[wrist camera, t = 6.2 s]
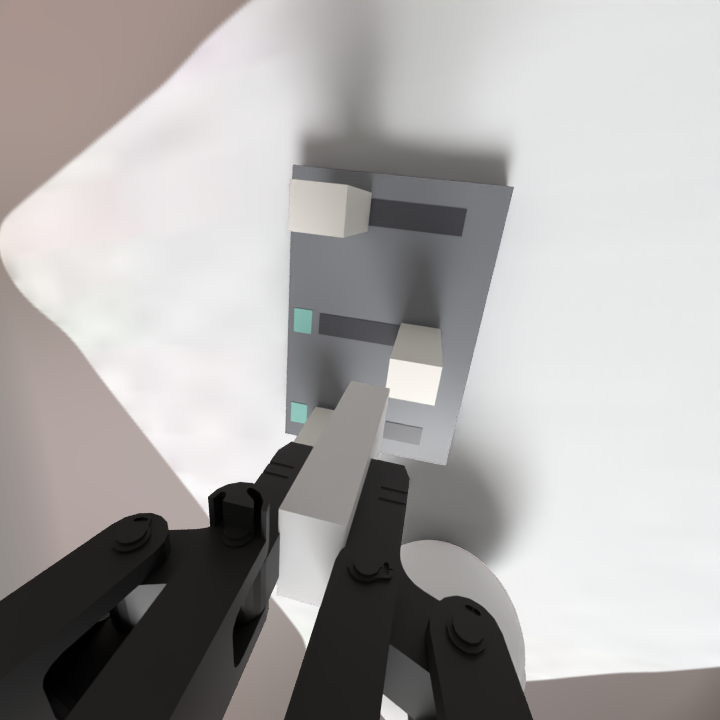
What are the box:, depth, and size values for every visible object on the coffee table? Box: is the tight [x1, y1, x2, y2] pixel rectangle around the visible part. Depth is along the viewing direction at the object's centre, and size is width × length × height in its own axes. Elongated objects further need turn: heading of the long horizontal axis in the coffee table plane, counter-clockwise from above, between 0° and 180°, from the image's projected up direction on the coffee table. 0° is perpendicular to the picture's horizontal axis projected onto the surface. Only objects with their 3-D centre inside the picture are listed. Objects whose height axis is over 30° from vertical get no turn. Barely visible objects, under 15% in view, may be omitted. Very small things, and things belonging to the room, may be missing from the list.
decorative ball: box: [381, 540, 526, 720], centre depth 27 cm, size 12×12×12 cm
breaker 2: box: [294, 407, 334, 447], centre depth 23 cm, size 2×2×6 cm
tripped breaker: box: [386, 323, 442, 406], centre depth 20 cm, size 2×2×6 cm
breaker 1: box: [289, 179, 372, 238], centre depth 18 cm, size 2×2×6 cm
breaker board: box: [285, 165, 514, 466], centre depth 24 cm, size 12×18×2 cm, turn 174°
